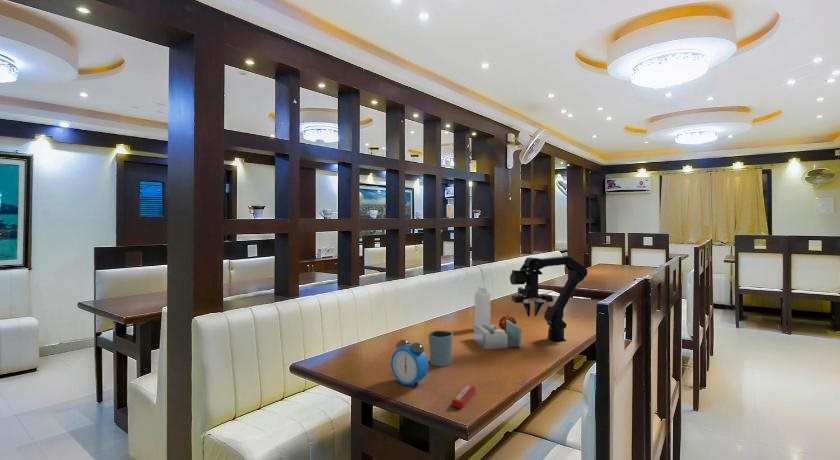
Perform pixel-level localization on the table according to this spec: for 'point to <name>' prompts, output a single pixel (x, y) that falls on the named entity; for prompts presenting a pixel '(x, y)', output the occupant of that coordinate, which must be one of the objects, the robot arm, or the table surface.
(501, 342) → the dock
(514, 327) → the drawer
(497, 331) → the grey rounded tapered piece
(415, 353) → the alarm clock
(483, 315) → the milk
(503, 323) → the dragon fruit
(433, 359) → the grey-green cup
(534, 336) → the table surface
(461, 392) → the candy bar
